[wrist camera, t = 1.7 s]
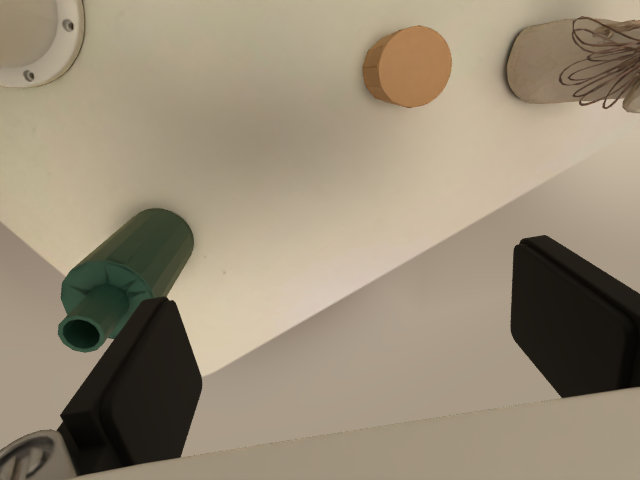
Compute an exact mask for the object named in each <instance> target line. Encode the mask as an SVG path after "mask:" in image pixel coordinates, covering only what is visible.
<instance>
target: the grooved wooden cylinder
mask: <svg viewBox="0 0 640 480" xmlns="http://www.w3.org/2000/svg"><path fill="white" fill-rule="evenodd" d="M451 66H452V59H451V53H450V50H449V47H448V45H447V43H446V41H445V40H444V39H443V37H442V36H441V35H440V34H439V33H437V32H436V31H434V30H432V29H430V28H427V27H423V26H419V25H418V26H414V27H410V28H406V29H402V30H399V31H397V32H395V33H392V34H390V35H388V36H386V37H384V38H382V39H380V40H379V41H378V42H377V43H376V44H375V45H374V46H373V47H372V48H371V49H370V50H369V51H368V52H367V55H366V58H365V62H364V65H363V69H362V70H363V76H364V82H365V86H366V87H367V89H368V90H369V91H370V92H371V94H372V95H373V96H374V97H375V98H376V99H379V100H382V101H385V102H388V103H392V104H395V105H399V106H403V107H407V108H412V107H418V106H422V105H425V104H427V103H429V102H430V101H432V100H433V99H435V98H436V97H437V96H438V95H439V94H440V93H441V92H442V90H443V89H444V87H445V86H446V84H447V82H448V79H449V77H450V73H451Z"/></svg>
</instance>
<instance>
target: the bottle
mask: <svg viewBox="0 0 640 480" xmlns="http://www.w3.org/2000/svg"><path fill="white" fill-rule="evenodd" d="M193 245H194V239H193V234H192V232H191V229H190V228H189V226H188V224H187V223H186V222H185V221H184V220H183V219H182V218H181V217H180V216H178V215H177V214H175V213H173V212H171V211H168V210H164V209H148V210H145V211H142V212H140V213H139V214H137V215H136V216H134V217H133V218H131V219H130V220H129V221H128V222H127V223H126V224H124V225H123V226H122V227H121V228H120V229H119V230H117V231H116V232H115V233H114V234H113V235H112V236H110V237H109V238H108V239H107V240H106V241H104V242H103V243H102V244H101V245H100V246H99V247H97V248H96V249H95V250H94V251H93V252H92V253H90V254H89V255H88V256H87V257H86V258H85V259H83V260H82V261H81V262H80V263H79V264H78V265H76V266H75V267H74V268H73V269H72V270H71V271H70V272H69V274H68V275H67V277H66V278H65V280H64V281H63V282H62V290H61V300H62V303H63V305H64V308H65V310H66V313H67V314H68V315H67V317H66V318H65V319H64V320H63V321H62V322H61V323H60V324H59V327H58V335H59V337H60V339H61V340H62V342H63V343H64V344H65V345H66V346H68V347H69V348H71V349H72V350H75V351H80V352H91V351H95V350H97V349H98V348H99V347H100V346H101V345H103V343H104V342H105V341H106V339H107V338H111V339H115V338H116V336H117V335H118V334H119V332H120V331H121V329H122V328H123V327H124V325H125V324H126V322H127V321H128V320H129V318H130V317H131V315H132V314H133V313H134V311H135V310H136V308H137V307H138V306H139V304H140V303H141V301H143V300H145V299H151V298H157V297H163V296H165V297H166V296H167V295H168V293H169V291H170V290H171V288H172V286H173V285H174V283H175V281H176V279H177V278H178V276H179V274H180V273H181V271H182V269H183V268H184V266H185V264H186V263H187V261H188V259H189V257H190V256H191V253H192V250H193Z"/></svg>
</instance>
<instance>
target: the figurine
mask: <svg viewBox="0 0 640 480" xmlns="http://www.w3.org/2000/svg"><path fill="white" fill-rule="evenodd" d="M507 76H508V83H509V85H510V87H511V89H512V91H513V92H514V93H515V94H516V95H517V96H518V97H519V98H520V99H522V100H523V101H524V102H526V103H535V104H545V103H561V102H574V101H579V104H580V105H581V106H585V105H589V104H592V103H595V102H597V101H599V100H604V99H605V101H604V103H603V107H602V108H604V109H607V108H609V107H611V106H612V105H613V104H614V103H616V102H617V100H618V99H621V98H625V99H624V101H623V108H624V109H625V110H626V111H627V112H631V113H640V20H638V21H635V20H631V21H626V22H617V21H612V20H605V19H592V18H589V17H584V16H582V17H580V18H578V19H565V20H559V21H555V22H551V23H546V24H541V25H536V26H531V27H529V28H526V29H524V30H523V31H522V32H521V33H520V34H519V36H518V37H517V38H516V40H515V43H514V45H513V48H512V51H511V54H510V57H509V60H508V64H507ZM606 99H616V100H615V101H614V102H613V103H612V104H611V105H610V106H608V107H605V102H606ZM581 101H593V102H590V103H587V104H582V103H581Z"/></svg>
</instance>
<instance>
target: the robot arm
mask: <svg viewBox="0 0 640 480" xmlns="http://www.w3.org/2000/svg"><path fill="white" fill-rule="evenodd" d="M72 24H74V29H72V28H71V25H72ZM83 34H84V9H83V5H82V1H81V0H0V86H4V87H12V88H26V87H37V86H40V85H43V84H47V83H50V82H52V81H53V80H55V79H57V78H58V77H60V76H61V75H63V74H64V73H65V72H66V71H67V70H68V69H69V68H70V67H71V65H72V64H73V62H74V60H75V59H76V57H77V56H78V53H79V50H80V47H81V44H82V42H83ZM33 74H34V77H33ZM513 255H514V256H513V279H512V303H511V333H512V336H513V338H514V340H515V342H516V343H517V344H518V345H519V347H520V348H521V349H522V350H523V351H524V353H525V354H526V355H527V356H528V357H529V359H530V360H531V361H532V362H533V363H534V364H535V366H536V367H537V368H538V370H539V371H540V372H541V373H542V374H543V375H544V377H545V378H546V379H547V380H548V382H549V383H550V384H551V385H552V386H553V388H554V389H555V390H556V391H557V393H558V394H559V395H560V396H561V397H562V398H561V399H554V400H548V401H541V402H534V403H528V404H522V405H515V406H507V407H501V408H494V409H488V410H482V411H475V412H469V413H462V414H456V415H449V416H443V417H436V418H430V419H424V420H417V421H411V422H405V423H398V424H391V425H385V426H378V427H372V428H367V429H359V430H353V431H346V432H340V433H334V434H327V435H320V436H314V437H308V438H301V439H294V440H288V441H281V442H275V443H269V444H262V445H256V446H250V447H244V448H237V449H231V450H225V451H219V452H213V453H206V454H200V455H194V456H188V457H181V454H182V451H183V448H184V444H185V441H186V438H187V435H188V432H189V429H190V425H191V422H192V419H193V416H194V413H195V410H196V406H197V403H198V400H199V397H200V394H201V390H202V377H201V374H200V371H199V368H198V365H197V363H196V360H195V357H194V354H193V351H192V348H191V345H190V342H189V339H188V337H187V334H186V331H185V328H184V325H183V322H182V319H181V316H180V314H179V311H178V308H177V305H176V303H175V302H174V301H173V300H171V301H169V300H168V298H167V297H165V296H163V297H157V298H151V299H145V300H143V301H141V303H140V304H139V306H138V307H137V308H136V310H135V311H134V313H133V314H132V315H131V317H130V318H129V320H128V321H127V322H126V324H125V325H124V327H123V328H122V329H121V331H120V332H119V334H118V335H117V336H116V338H115V339H114V341H113V342H112V343H111V345H110V346H109V348H108V349H107V350H106V352H105V353H104V355H103V356H102V357H101V359H100V360H99V362H98V363H97V364H96V366H95V367H94V369H93V370H92V372H91V373H90V374H89V376H88V377H87V378H86V380H85V381H84V383H83V384H82V386H81V387H80V388H79V390H78V391H77V392H76V394H75V395H74V396H73V398H72V399H71V401H70V402H69V404H68V405H67V406H66V408H65V409H64V410H63V412H62V414H61V415H60V416H61V418H62V420H63V422H62V424H61V425H60V427H59V428H58V429H57V431H54V430H51V429H50V430H40V431H37V432H34V433H31V434H27V435H25V436H23V437H21V438H19V439H17V440H15V441H14V442H12V443H10V444H9V445H7V446H6V447H4V448H3V449H1V450H0V480H640V294H639V293H638V292H636V291H634V290H632V289H631V288H630V287H628V286H626V285H625V284H623V283H621V282H620V281H618V280H617V279H615V278H614V277H612V276H610V275H609V274H607V273H606V272H604V271H602V270H601V269H599V268H598V267H596V266H595V265H593V264H591V263H590V262H588V261H586V260H585V259H583V258H582V257H580V256H579V255H577V254H575V253H574V252H572V251H571V250H569V249H567V248H566V247H564V246H563V245H561V244H559V243H558V242H556V241H555V240H553V239H551V238H550V237H548V236H546V235H543V236H537V237H530V238H524V239H522V240H521V241H520V244H519V245H516V246H515V248H514V254H513ZM180 457H181V458H180Z"/></svg>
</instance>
